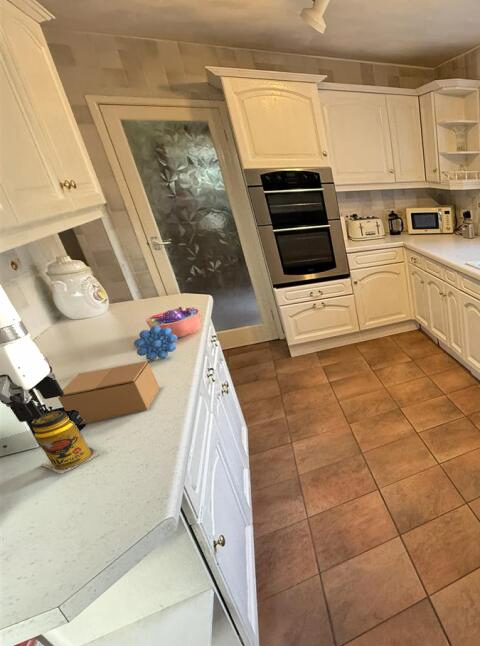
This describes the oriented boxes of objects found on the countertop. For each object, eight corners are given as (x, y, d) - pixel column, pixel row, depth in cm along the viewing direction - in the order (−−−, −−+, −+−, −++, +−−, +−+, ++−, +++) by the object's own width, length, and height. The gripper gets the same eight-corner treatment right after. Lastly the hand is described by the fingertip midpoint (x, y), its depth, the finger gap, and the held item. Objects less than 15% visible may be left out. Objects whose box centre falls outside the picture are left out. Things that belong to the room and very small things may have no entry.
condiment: (61, 474, 85) (33, 429, 81) (41, 465, 88) (12, 421, 83) (103, 453, 92) (79, 410, 87) (82, 445, 94) (58, 403, 90)
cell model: (208, 322, 169) (199, 297, 164) (204, 338, 153) (194, 311, 148) (158, 331, 161) (147, 305, 156) (149, 349, 145) (136, 320, 140)
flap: (57, 396, 98) (56, 395, 98) (79, 374, 109) (78, 373, 109) (96, 389, 101) (95, 387, 101) (114, 368, 112) (113, 367, 112)
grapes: (184, 349, 144) (172, 319, 139) (183, 356, 139) (170, 324, 134) (143, 358, 138) (129, 326, 133) (140, 365, 133) (125, 333, 128)
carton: (74, 426, 102) (56, 395, 98) (93, 401, 112) (78, 373, 109) (147, 409, 108) (133, 380, 104) (159, 387, 119) (147, 360, 115)
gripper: (-3, 325, 83) (40, 393, 90) (-62, 356, 69) (-6, 435, 76) (46, 317, 86) (83, 384, 93) (-1, 346, 72) (47, 423, 79)
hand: (43, 407), depth 84 cm, fingers open, 9 cm apart
